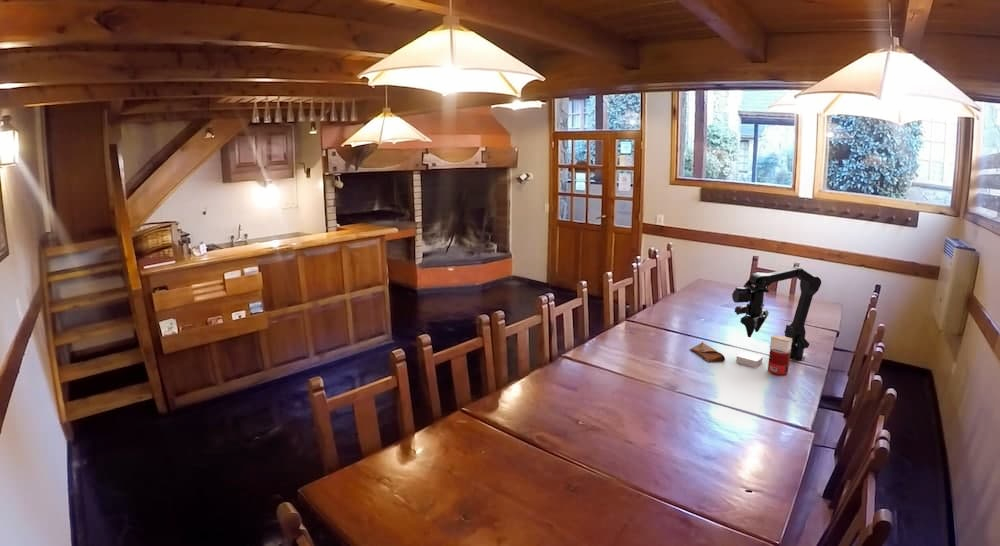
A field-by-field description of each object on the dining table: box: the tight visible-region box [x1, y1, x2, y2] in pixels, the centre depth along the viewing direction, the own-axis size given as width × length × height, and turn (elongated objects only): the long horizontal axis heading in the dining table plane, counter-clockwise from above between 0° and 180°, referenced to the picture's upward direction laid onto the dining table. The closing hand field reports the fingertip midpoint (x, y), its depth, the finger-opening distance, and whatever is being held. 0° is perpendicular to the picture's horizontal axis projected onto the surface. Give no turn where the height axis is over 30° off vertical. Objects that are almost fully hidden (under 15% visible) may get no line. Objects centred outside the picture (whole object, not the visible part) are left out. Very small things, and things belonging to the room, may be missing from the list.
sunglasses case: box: [688, 341, 726, 364], centre depth 276 cm, size 18×7×7 cm
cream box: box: [769, 334, 792, 352], centre depth 254 cm, size 5×7×5 cm
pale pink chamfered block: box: [735, 351, 764, 369], centre depth 267 cm, size 7×9×3 cm
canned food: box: [767, 347, 791, 377], centre depth 256 cm, size 8×8×11 cm
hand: (752, 334), depth 269 cm, fingers open, 9 cm apart
